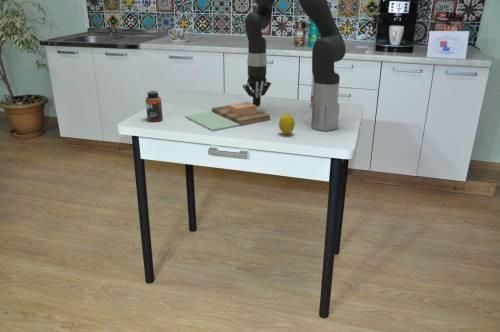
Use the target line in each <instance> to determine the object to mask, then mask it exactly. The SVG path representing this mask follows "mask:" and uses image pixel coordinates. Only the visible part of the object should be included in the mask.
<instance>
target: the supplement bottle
mask: <svg viewBox="0 0 500 332" xmlns="http://www.w3.org/2000/svg"><path fill="white" fill-rule="evenodd" d="M145 107H146V119H147V121H148V122H151V123H152V122H153V123H155V122H156V123H157V122H161V121H162V120H163V119H164V118H163V105H162V98H161V97H160V96H159V91H157V90H150V91H147V97H146V98H145Z"/></svg>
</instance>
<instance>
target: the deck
mask: <svg viewBox="0 0 500 332" xmlns="http://www.w3.org/2000/svg"><path fill="white" fill-rule="evenodd" d="M228 105H229V104H228ZM228 105H223V106H222V105H221V106H216V107H211V112H213V113H216V114H218V115H220V116H222V117H224V118H227V119H229V120H231V121H233V122H236V123H238V124H240V126H239V127H241V126H247V125H252V124H256V123H262V122H268V121H271V114H268V113H265V112H263V111H260V110H257V109H256V112H251V113H245V114H240V115H237V114H234V113H232V112H230V111H228Z"/></svg>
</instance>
